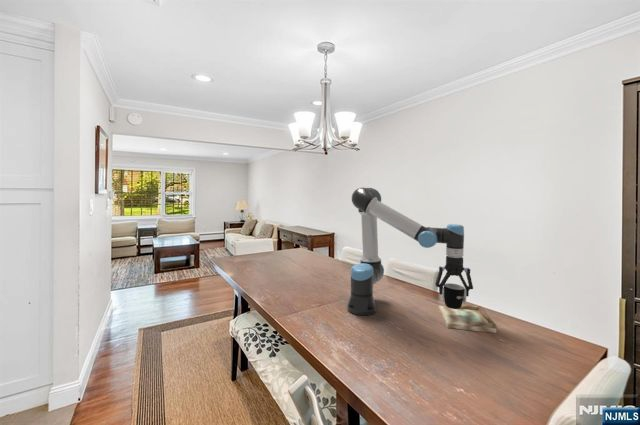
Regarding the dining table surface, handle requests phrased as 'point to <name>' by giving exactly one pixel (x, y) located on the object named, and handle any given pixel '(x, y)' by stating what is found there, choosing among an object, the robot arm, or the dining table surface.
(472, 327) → the board
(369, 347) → the dining table surface
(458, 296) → the mug
